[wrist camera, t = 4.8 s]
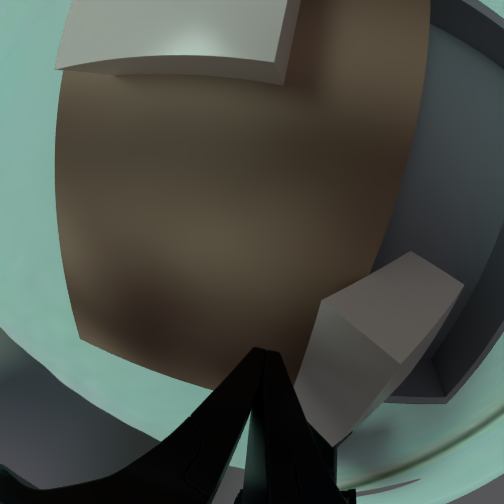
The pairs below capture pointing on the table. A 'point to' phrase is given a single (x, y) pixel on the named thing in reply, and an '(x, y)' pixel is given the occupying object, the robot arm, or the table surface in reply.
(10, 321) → the table surface
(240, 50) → the tile
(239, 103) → the walnut plate
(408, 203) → the box
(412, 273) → the tile
